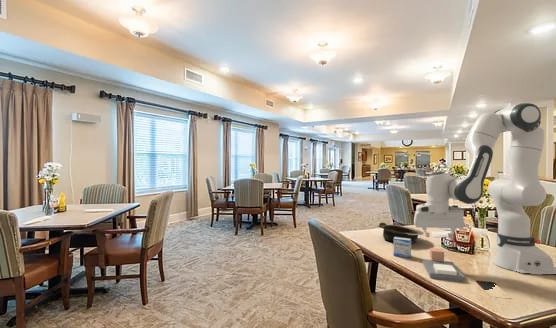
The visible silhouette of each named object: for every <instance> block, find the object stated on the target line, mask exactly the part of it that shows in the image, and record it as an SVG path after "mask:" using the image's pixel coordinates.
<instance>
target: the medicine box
mask: <svg viewBox="0 0 556 328" xmlns="http://www.w3.org/2000/svg"><path fill="white" fill-rule="evenodd" d="M392 253H393V254H392V255H393V256H394V257H399V258H400V257H402V258H406V259H407V258H408V259H411V256H412V243H411V239H408V238H400V237H394V240H393V251H392Z"/></svg>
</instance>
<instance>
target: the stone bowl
mask: <svg viewBox="0 0 556 328" xmlns="http://www.w3.org/2000/svg"><path fill="white" fill-rule="evenodd" d="M377 227H379V228H381V229H383V231H382V237H383V240H384V241H385V240H386V241H391V242H394V237H400V238H408V239H411V244H413V243H415V242H416V241H417V239H418V238H419V236H423V235H425V232H424V231H421V230H419V229H416V228H412V227H408V226H403V225H399V224H398V225H397V224H386V223H385V222H380V223H379V225H377Z"/></svg>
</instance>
